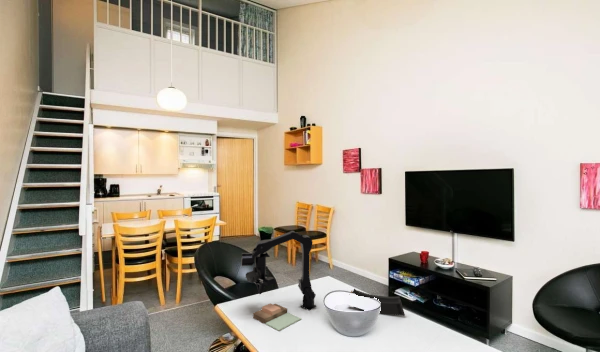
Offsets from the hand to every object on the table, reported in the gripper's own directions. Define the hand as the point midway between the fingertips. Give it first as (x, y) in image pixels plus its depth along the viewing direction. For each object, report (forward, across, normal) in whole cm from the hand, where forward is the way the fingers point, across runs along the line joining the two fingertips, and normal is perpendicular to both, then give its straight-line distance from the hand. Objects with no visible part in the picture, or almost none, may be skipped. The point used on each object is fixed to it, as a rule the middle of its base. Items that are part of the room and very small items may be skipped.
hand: (260, 293), depth 164 cm
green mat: (+9, +18, 0) cm, 20 cm away
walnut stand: (+9, +8, 0) cm, 12 cm away
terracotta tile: (+7, +9, 0) cm, 11 cm away
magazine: (+10, +46, +42) cm, 63 cm away
